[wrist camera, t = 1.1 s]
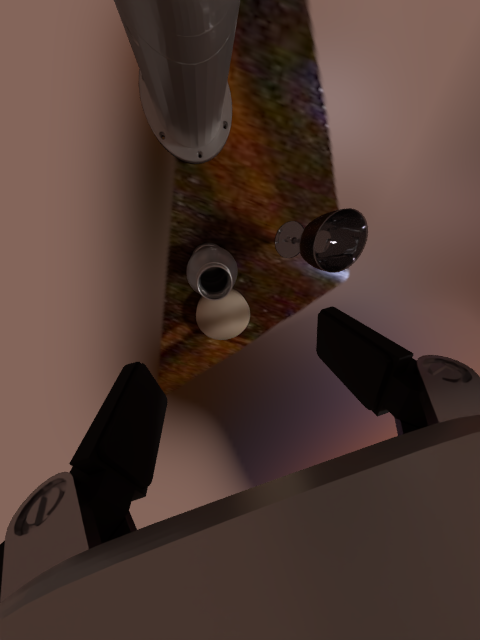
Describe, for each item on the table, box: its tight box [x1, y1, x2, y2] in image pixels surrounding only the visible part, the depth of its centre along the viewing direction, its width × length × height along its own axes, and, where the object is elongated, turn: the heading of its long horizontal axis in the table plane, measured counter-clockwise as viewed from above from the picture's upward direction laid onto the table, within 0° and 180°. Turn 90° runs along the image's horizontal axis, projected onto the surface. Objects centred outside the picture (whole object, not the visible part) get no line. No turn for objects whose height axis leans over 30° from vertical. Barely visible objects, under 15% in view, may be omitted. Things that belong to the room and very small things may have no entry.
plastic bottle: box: [186, 243, 237, 301], centre depth 26 cm, size 6×7×20 cm
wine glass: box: [275, 208, 368, 273], centre depth 30 cm, size 8×8×15 cm
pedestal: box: [196, 289, 250, 340], centre depth 39 cm, size 12×12×3 cm
